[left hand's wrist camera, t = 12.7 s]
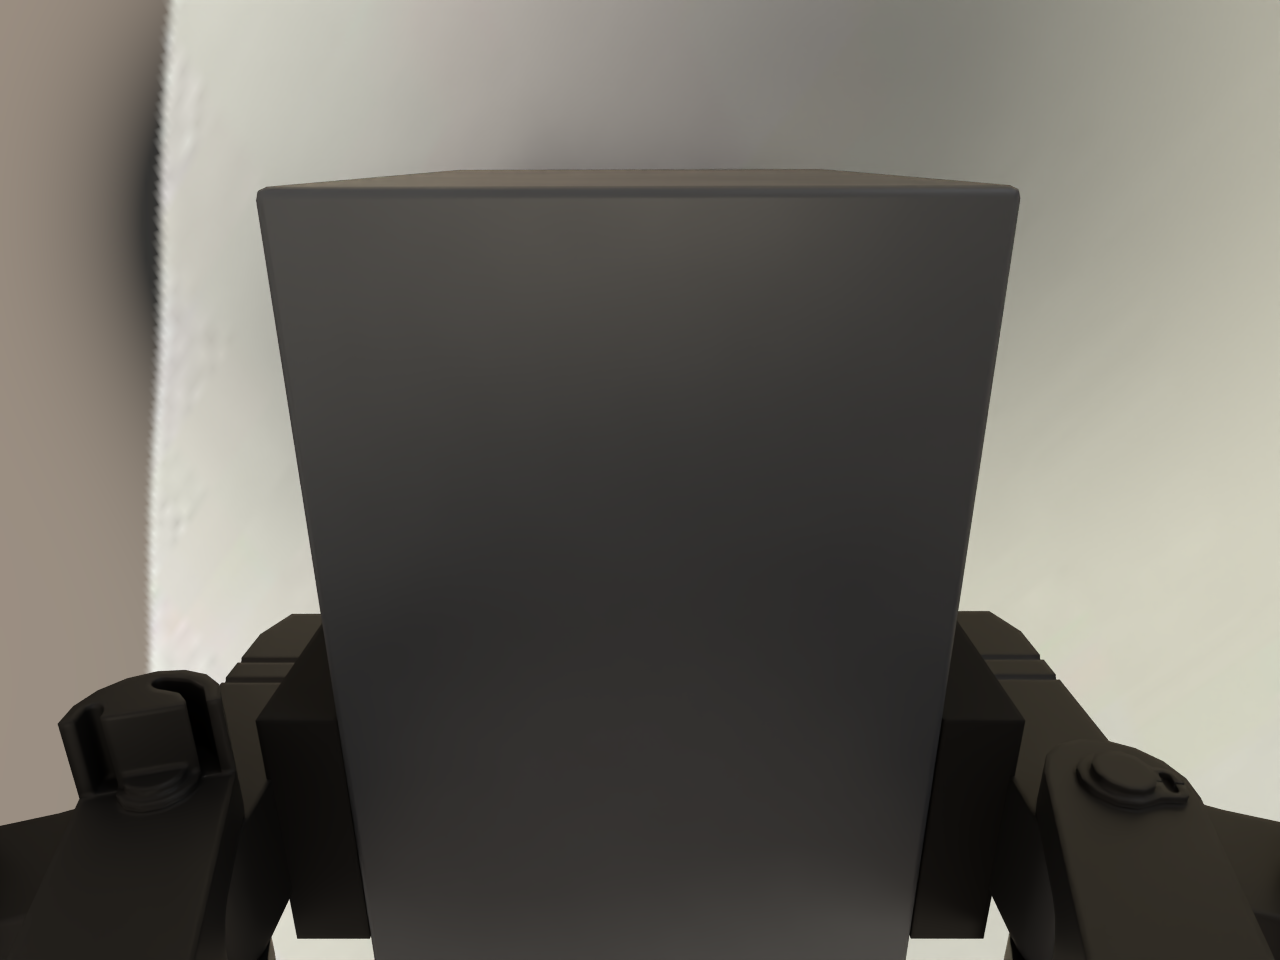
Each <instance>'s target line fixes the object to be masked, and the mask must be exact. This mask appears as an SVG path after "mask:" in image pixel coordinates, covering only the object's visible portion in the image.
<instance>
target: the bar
mask: <svg viewBox="0 0 1280 960" xmlns="http://www.w3.org/2000/svg"><path fill="white" fill-rule="evenodd" d="M256 202H257V209H258V215H259V221H260V228H261V234H262V241H263V247H264V253H265V260H266V266H267V273H268V279H269V285H270V292H271V298H272V305H273V311H274V317H275V324H276V330H277V337H278V343H279V349H280V356H281V362H282V369H283V375H284V381H285V388H286V394H287V401H288V407H289V413H290V420H291V426H292V433H293V439H294V445H295V452H296V458H297V465H298V471H299V477H300V484H301V490H302V497H303V503H304V509H305V516H306V522H307V529H308V535H309V541H310V548H311V554H312V561H313V567H314V573H315V580H316V586H317V593H318V599H319V605H320V612H321V618H322V625H323V631H324V638H325V644H326V650H327V657H328V663H329V670H330V676H331V682H332V689H333V695H334V702H335V708H336V714H337V721H338V727H339V734H340V740H341V746H342V753H343V759H344V766H345V772H346V778H347V785H348V791H349V798H350V804H351V810H352V817H353V823H354V830H355V836H356V842H357V849H358V855H359V862H360V868H361V874H362V881H363V887H364V894H365V900H366V906H367V913H368V919H369V926H370V932H371V938H372V945H373V951H374V958H375V960H906V954H907V947H908V941H909V934H910V927H911V921H912V914H913V907H914V901H915V894H916V887H917V881H918V874H919V867H920V861H921V854H922V848H923V841H924V834H925V828H926V821H927V814H928V808H929V801H930V794H931V788H932V781H933V774H934V768H935V761H936V754H937V748H938V741H939V735H940V728H941V721H942V715H943V708H944V701H945V695H946V688H947V681H948V675H949V668H950V661H951V655H952V648H953V641H954V635H955V628H956V622H957V615H958V608H959V602H960V595H961V588H962V582H963V575H964V568H965V562H966V555H967V548H968V542H969V535H970V528H971V522H972V515H973V509H974V502H975V495H976V489H977V482H978V475H979V469H980V462H981V455H982V449H983V442H984V435H985V429H986V422H987V415H988V409H989V402H990V396H991V389H992V382H993V376H994V369H995V362H996V356H997V349H998V342H999V336H1000V329H1001V322H1002V316H1003V309H1004V302H1005V296H1006V289H1007V283H1008V276H1009V269H1010V263H1011V256H1012V249H1013V243H1014V236H1015V229H1016V223H1017V216H1018V209H1019V203H1020V195H1019V190H1018V189H1017V188H1014V187H1012V186H1010V185H1001V184H989V183H977V182H966V181H954V180H942V179H930V178H918V177H906V176H895V175H883V174H871V173H859V172H847V171H835V170H824V169H706V170H455V171H443V172H432V173H420V174H409V175H397V176H386V177H374V178H363V179H352V180H340V181H329V182H317V183H306V184H294V185H283V186H271V187H265V188H263V189H261V190H259V191H258V192H257V198H256Z"/></svg>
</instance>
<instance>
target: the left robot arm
mask: <svg viewBox="0 0 1280 960" xmlns="http://www.w3.org/2000/svg"><path fill="white" fill-rule="evenodd" d="M58 726H59V730H60V733H61V737H62V740H63V744H64V747H65V751H66V754H67V757H68V761H69V764H70V768H71V771H72V775H73V778H74V781H75V785H76V788H77V792H78V795H79V798H80V799H79V801H78V803H77V806H76V808H75V809H73V810H70V811H66V812H62V813H59V814H54V815H50V816H45V817H40V818H35V819H31V820H26V821H21V822H17V823H12V824H7V825H2V826H0V960H276V958H275V952H274V947H273V942H272V935H273V932H274V930H275V928H276V926H277V924H278V922H279V920H280V918H281V916H282V913H283V911H284V909H285V907H286V905H287V903H288V901H289V899H290V903H291V909H292V914H293V919H294V924H295V929H296V935H297V939H370V937H371V932H370V926H369V919H368V913H367V906H366V900H365V894H364V887H363V881H362V874H361V868H360V862H359V855H358V849H357V842H356V836H355V830H354V823H353V817H352V810H351V804H350V798H349V791H348V785H347V778H346V772H345V766H344V759H343V753H342V746H341V740H340V734H339V727H338V721H337V714H336V708H335V702H334V695H333V689H332V682H331V676H330V670H329V663H328V657H327V650H326V644H325V638H324V631H323V625H322V618H321V614H291V615H290V616H288V617H286V618H285V619H283V620H282V621H280V622H279V623H277V624H276V625H274V626H272V627H271V628H269V629H268V630H266V631H265V632H263V633H262V634H260V635H259V637H258V638H257V639H256V640H255V642H254V643H253V644H252V645H251V647H250V648H249V649H248V650H247V652H246V653H245V654H244V655H243V657H242V661H241V663H237V664H236V665H235V667H234V668H233V669H232V670H231V672H230V673H229V674H228V676H227V677H226V682H225V683H221V684H220V686H219V684H218V683H217V682H216V681H214V680H213V679H212V678H210V677H209V676H208V675H207V674H202V673H197V672H192V671H188V670H175V671H157V672H153V673H148V674H144V675H140V676H136V677H131V678H127V679H124V680H122V681H120V682H117V683H115V684H112V685H110V686H107V687H105V688H103V689H100V690H98V691H96V692H95V693H93V694H91V695H90V696H88V697H87V698H85V699H84V700H82V701H81V702H79V703H78V704H76V705H74V706H73V707H72V708H71V709H70V710H69V712H68V713H67V714H66V715H65V716H64V717H63V718H62V720H61V721H60V722H59V723H58ZM991 897H993V899H994V901H995V903H996V905H997V908H998V910H999V912H1000V914H1001V916H1002V918H1003V920H1004V922H1005V924H1006V926H1007V929H1008V931H1009V937H1008V942H1007V947H1006V952H1005V957H1004V960H1280V822H1277V821H1272V820H1268V819H1263V818H1258V817H1254V816H1249V815H1244V814H1240V813H1235V812H1230V811H1225V810H1221V809H1218V808H1214V807H1210V806H1207V805H1204V804H1203V802H1202V800H1201V798H1200V796H1199V795H1198V794H1197V792H1196V791H1195V790H1194V788H1193V787H1192V786H1191V784H1190V783H1189V781H1188V780H1187V779H1186V778H1185V777H1183V776H1182V775H1181V774H1179V773H1178V772H1177V771H1175V770H1174V769H1173V768H1171V767H1170V766H1169V765H1167V764H1166V763H1165V762H1163V761H1161V760H1159V759H1157V758H1155V757H1153V756H1151V755H1149V754H1147V753H1144V752H1142V751H1140V750H1138V749H1136V748H1133V747H1129V746H1125V745H1121V744H1118V743H1114V742H1110V741H1108V739H1107V738H1106V737H1105V736H1104V734H1103V733H1102V732H1101V731H1100V729H1099V728H1098V727H1097V726H1096V724H1095V723H1094V722H1093V721H1092V719H1091V718H1090V717H1089V716H1088V714H1087V713H1086V712H1085V711H1084V709H1083V708H1082V707H1081V706H1080V704H1079V703H1078V702H1077V701H1076V699H1075V698H1074V697H1073V696H1072V694H1071V693H1070V692H1069V691H1068V689H1067V688H1066V687H1065V686H1064V684H1063V683H1062V682H1061V681H1060V680H1056V674H1055V673H1054V672H1053V671H1052V669H1051V668H1050V667H1049V666H1048V665H1047V663H1046V662H1045V661H1044V660H1040V655H1039V653H1038V652H1037V651H1036V650H1035V648H1034V647H1033V646H1032V645H1031V643H1030V642H1029V641H1028V640H1027V638H1026V637H1025V636H1024V635H1023V633H1022V632H1021V631H1019V630H1018V629H1016V628H1015V627H1013V626H1012V625H1010V624H1008V623H1007V622H1005V621H1004V620H1002V619H1001V618H999V617H997V616H996V615H994V614H993V613H991V612H990V611H958V615H957V622H956V628H955V635H954V641H953V648H952V655H951V661H950V668H949V675H948V681H947V688H946V695H945V701H944V708H943V715H942V721H941V728H940V735H939V741H938V748H937V754H936V761H935V768H934V774H933V781H932V788H931V794H930V801H929V808H928V814H927V821H926V828H925V834H924V841H923V848H922V854H921V861H920V867H919V874H918V881H917V887H916V894H915V901H914V907H913V914H912V921H911V927H910V934H909V935H910V938H914V939H983V938H984V933H985V928H986V923H987V917H988V912H989V907H990V902H991Z"/></svg>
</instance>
